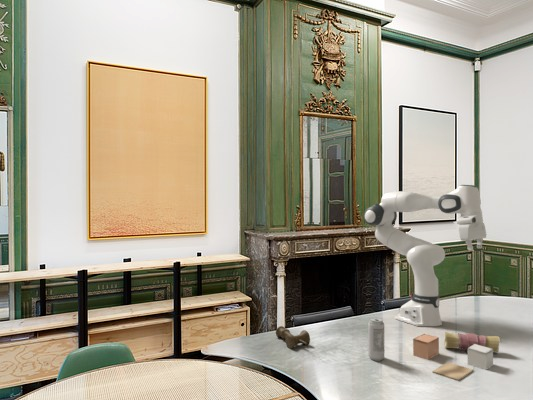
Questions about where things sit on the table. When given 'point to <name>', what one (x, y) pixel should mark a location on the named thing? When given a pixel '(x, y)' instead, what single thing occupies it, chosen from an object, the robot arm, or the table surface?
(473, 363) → the off-white bevelled cube
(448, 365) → the cork pad
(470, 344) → the scroll
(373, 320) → the energy drink can
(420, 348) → the pink paneled box
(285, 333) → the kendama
